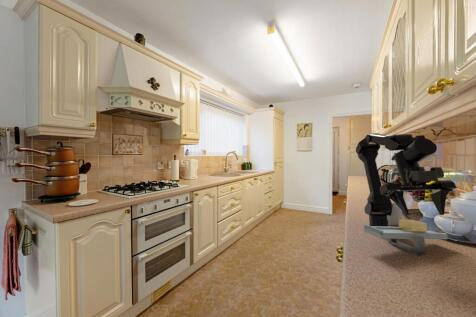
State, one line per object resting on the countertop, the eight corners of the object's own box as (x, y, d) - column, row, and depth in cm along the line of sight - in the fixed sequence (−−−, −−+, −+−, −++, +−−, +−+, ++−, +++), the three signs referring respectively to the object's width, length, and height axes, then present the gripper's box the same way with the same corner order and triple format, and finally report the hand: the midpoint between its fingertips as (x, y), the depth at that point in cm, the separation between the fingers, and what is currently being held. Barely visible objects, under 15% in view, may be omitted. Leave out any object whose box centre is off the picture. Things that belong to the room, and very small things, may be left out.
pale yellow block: (398, 229, 72) (399, 219, 72) (412, 229, 73) (413, 219, 73) (411, 233, 68) (411, 222, 68) (426, 234, 69) (426, 223, 69)
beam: (362, 232, 71) (363, 224, 71) (423, 233, 76) (424, 225, 76) (382, 240, 64) (382, 231, 64) (448, 241, 68) (449, 232, 68)
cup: (382, 224, 96) (381, 205, 96) (384, 219, 103) (384, 201, 103) (402, 226, 91) (401, 206, 91) (403, 221, 98) (402, 202, 99)
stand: (388, 242, 75) (387, 227, 75) (394, 242, 75) (393, 227, 75) (419, 255, 64) (418, 238, 64) (425, 254, 65) (424, 237, 65)
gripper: (388, 159, 63) (403, 210, 57) (459, 155, 60) (484, 209, 53) (374, 172, 73) (386, 216, 67) (434, 169, 70) (453, 216, 63)
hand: (424, 215), depth 62 cm, fingers open, 9 cm apart
